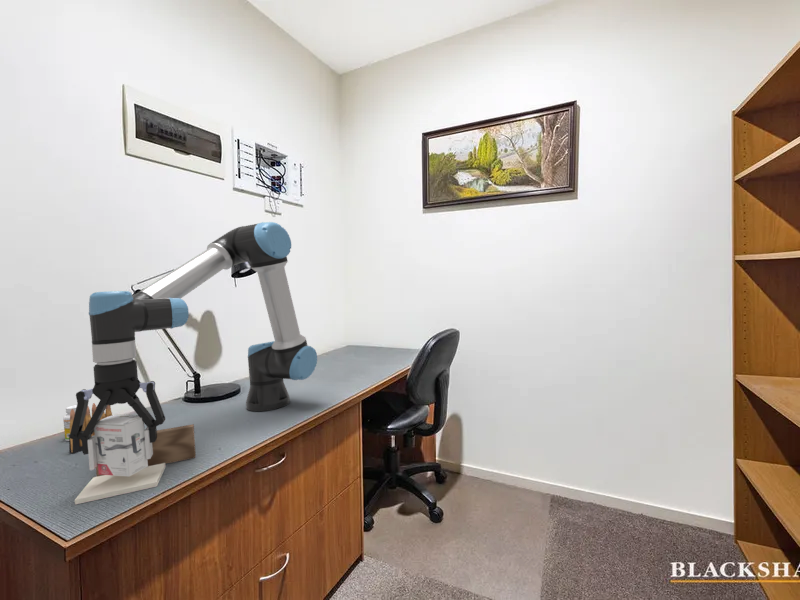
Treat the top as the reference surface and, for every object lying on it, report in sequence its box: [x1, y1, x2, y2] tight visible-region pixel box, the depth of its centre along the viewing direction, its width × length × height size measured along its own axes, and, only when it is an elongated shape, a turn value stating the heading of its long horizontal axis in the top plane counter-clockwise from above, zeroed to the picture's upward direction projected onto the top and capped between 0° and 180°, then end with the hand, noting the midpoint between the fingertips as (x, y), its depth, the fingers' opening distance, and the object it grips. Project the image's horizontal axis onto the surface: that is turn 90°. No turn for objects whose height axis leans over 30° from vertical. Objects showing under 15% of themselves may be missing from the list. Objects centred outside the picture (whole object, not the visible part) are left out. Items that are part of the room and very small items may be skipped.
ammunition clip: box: [68, 402, 113, 455], centre depth 104 cm, size 11×2×12 cm, turn 159°
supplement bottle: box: [63, 404, 85, 442], centre depth 111 cm, size 5×5×10 cm
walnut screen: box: [95, 424, 197, 477], centre depth 89 cm, size 20×2×8 cm, turn 114°
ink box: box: [94, 414, 148, 477], centre depth 81 cm, size 9×5×12 cm, turn 78°
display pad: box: [74, 463, 166, 506], centre depth 81 cm, size 14×10×1 cm
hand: (122, 461), depth 81 cm, fingers closed on ink box, 9 cm apart
